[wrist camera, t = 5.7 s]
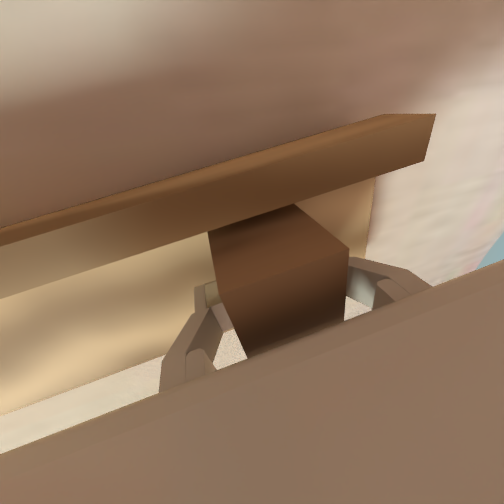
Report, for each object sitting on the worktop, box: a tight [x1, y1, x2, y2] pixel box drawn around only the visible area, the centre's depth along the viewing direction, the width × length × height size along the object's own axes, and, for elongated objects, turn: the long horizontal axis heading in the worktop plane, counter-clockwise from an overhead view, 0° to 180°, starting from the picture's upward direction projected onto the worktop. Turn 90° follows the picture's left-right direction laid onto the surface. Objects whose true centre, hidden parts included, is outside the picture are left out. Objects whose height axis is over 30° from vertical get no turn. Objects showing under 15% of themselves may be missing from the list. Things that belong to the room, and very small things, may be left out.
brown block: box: [207, 203, 350, 358], centre depth 10 cm, size 7×4×5 cm, turn 12°
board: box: [0, 114, 436, 416], centre depth 11 cm, size 11×26×4 cm, turn 103°
